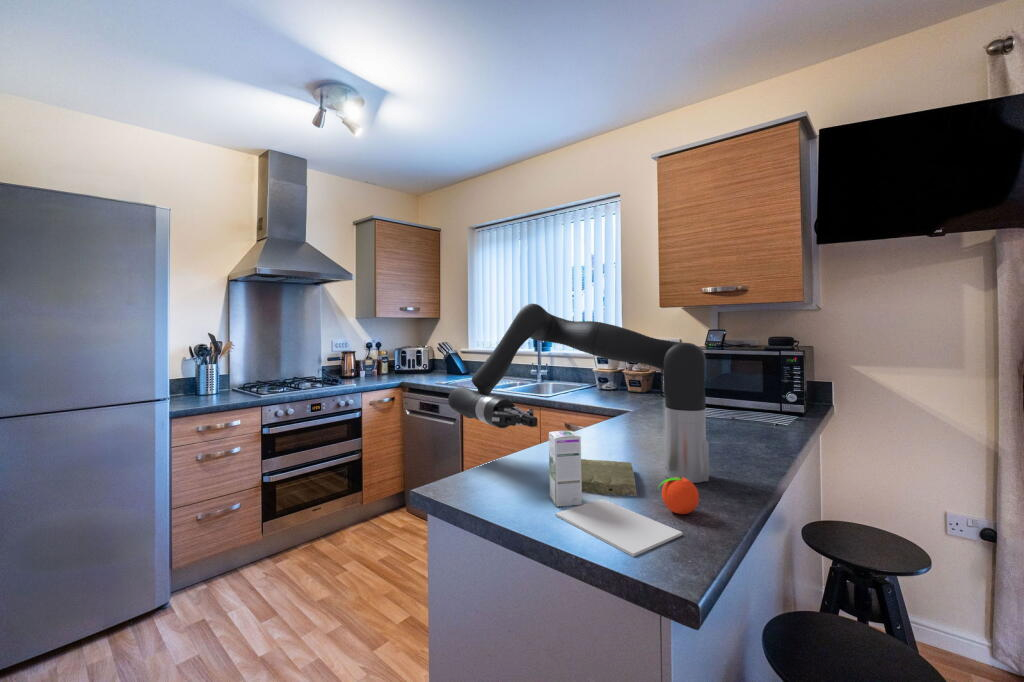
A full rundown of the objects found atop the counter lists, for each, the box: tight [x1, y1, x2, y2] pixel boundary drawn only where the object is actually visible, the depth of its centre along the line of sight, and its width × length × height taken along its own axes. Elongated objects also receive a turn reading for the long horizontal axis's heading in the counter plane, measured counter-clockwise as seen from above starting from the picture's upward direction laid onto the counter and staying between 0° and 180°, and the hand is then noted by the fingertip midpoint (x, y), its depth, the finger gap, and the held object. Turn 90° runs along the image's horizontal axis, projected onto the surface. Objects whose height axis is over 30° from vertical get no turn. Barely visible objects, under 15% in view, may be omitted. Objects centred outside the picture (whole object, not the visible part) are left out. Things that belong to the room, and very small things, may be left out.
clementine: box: [657, 477, 700, 515], centre depth 85 cm, size 8×7×7 cm
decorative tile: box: [581, 458, 638, 497], centre depth 104 cm, size 19×20×4 cm
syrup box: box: [548, 430, 583, 508], centre depth 91 cm, size 6×6×14 cm
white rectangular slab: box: [554, 498, 683, 558], centre depth 80 cm, size 19×13×1 cm
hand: (534, 422), depth 99 cm, fingers closed
